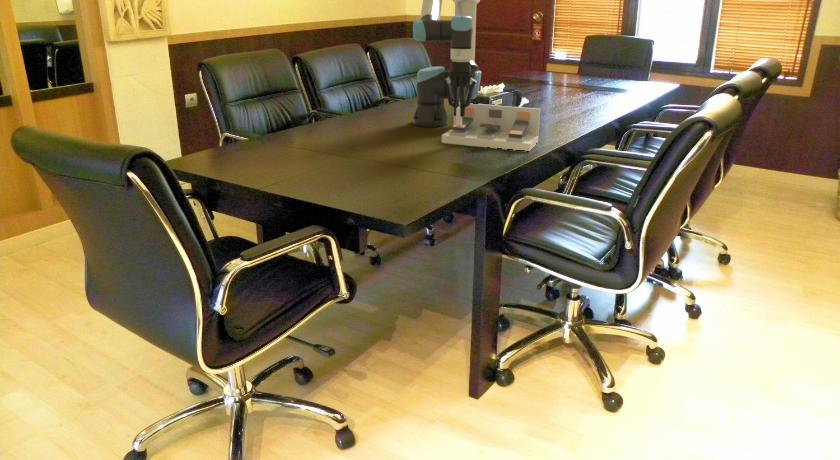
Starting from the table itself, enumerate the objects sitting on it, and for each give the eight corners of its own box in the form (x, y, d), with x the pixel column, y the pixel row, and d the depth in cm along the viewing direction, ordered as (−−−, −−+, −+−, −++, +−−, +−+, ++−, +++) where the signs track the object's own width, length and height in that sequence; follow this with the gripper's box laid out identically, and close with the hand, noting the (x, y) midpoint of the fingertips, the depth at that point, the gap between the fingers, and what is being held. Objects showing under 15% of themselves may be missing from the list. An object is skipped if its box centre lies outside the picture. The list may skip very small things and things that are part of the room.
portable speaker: (478, 114, 291) (479, 92, 287) (467, 110, 299) (468, 89, 295) (525, 110, 300) (526, 88, 297) (513, 106, 309) (514, 85, 305)
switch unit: (441, 142, 245) (442, 108, 240) (453, 134, 257) (454, 102, 252) (529, 151, 233) (531, 116, 228) (538, 142, 245) (540, 108, 240)
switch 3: (508, 136, 236) (508, 133, 235) (515, 122, 243) (515, 119, 242) (521, 137, 234) (521, 134, 233) (528, 123, 241) (528, 120, 240)
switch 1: (452, 129, 243) (451, 126, 242) (460, 119, 251) (460, 116, 250) (464, 131, 241) (464, 127, 240) (472, 120, 249) (472, 117, 248)
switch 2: (479, 126, 238) (480, 122, 238) (487, 127, 247) (487, 124, 247) (492, 127, 236) (493, 124, 236) (499, 129, 246) (500, 125, 245)
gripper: (440, 60, 232) (439, 125, 241) (474, 62, 228) (472, 128, 236) (447, 58, 239) (446, 121, 247) (481, 60, 234) (478, 124, 243)
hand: (458, 124), depth 242 cm, fingers closed
